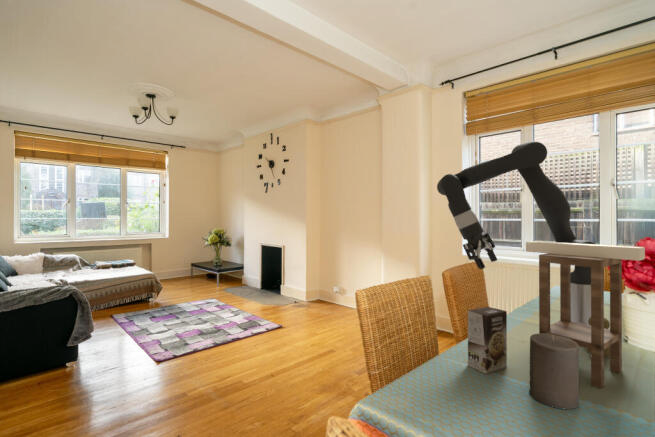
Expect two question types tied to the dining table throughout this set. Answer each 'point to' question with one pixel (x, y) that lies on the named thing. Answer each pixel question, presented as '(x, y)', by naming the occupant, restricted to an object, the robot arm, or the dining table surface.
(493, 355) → the coffee box
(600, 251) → the cutlery box
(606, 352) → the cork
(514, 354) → the dining table surface
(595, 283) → the walnut shelf
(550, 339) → the pillar candle
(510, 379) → the dining table surface
